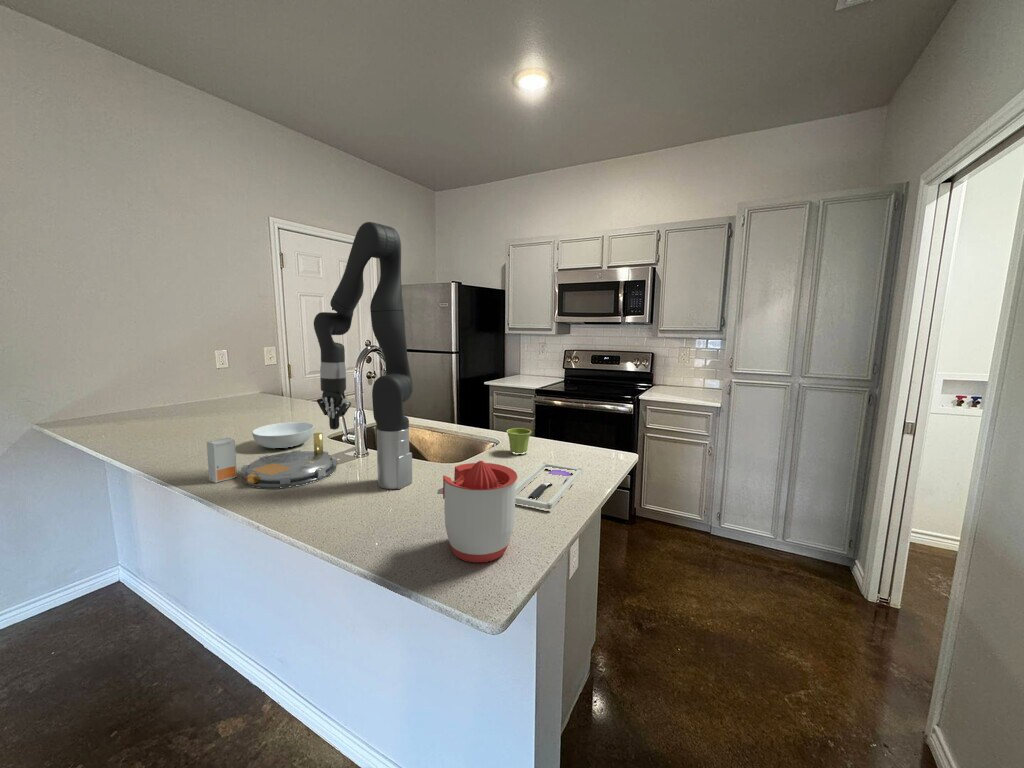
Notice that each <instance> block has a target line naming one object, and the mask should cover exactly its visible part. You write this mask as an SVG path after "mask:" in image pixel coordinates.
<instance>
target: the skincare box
mask: <svg viewBox="0 0 1024 768" xmlns="http://www.w3.org/2000/svg"><path fill="white" fill-rule="evenodd" d="M206 451H207V453H206V454H207V467H208V468H207V469H208V480H209V481H210V482H213V483H215V484H217V483H221V482H223V481H224V482H225V481H227V480H228V481H229V480H232V479H236V478H235V477H237V478H238V476H237V475H238V474H237V473H238V472H237V454H236V440H235V439H234V438H231V437H224V438H218V439H214V440H209V441H206Z"/></svg>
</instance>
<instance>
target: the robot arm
mask: <svg viewBox="0 0 1024 768" xmlns="http://www.w3.org/2000/svg"><path fill="white" fill-rule="evenodd" d="M401 241H402V240H401V238H400V234H399V232H398V231H397V230H396V229H395V228H394V227H392V226H388V225H385V224H382V223H377V222H372V221H366V222H364V223H362V224H360V226H359V227H358V230H357V231H356V234H355V236H354V239H353V242H352V245H351V248H350V252H349V255H348V258H347V262H346V266H345V269H344V271H343V274H342V277H341V279H340V282H339V284H338V285H337V287H336V289H335V291H334V293H333V295H332V296H331V297H332V298H331V299H330V303H329V304H330V307H331V308H332V310H333V311H335V312H326V311H325V312H323V311H322V312H318V313H317V314H316V315H315V317H314V319H313V329H314V332H315V335H316V339H317V342H318V344H319V348H320V349H319V350H320V366H319V367H320V368H319V369H320V370H319V372H320V373H319V374H320V375H319V376H320V379H319V380H320V382H319V383H320V391H321V392H322V394H321V397H320V398H318V399H317V400H316V403H317V404H318V406H319V408H320V410H321V412H322V414H323V415H324V416H327V417H328V420H329V421H328V422H329V424H328V425H329V429H330V430H337V429H339V428H340V417H343V416H345V415H346V413H347V412H348V410H349V409H350V407H351V405H352V402H351V401H348V400H347V399H346V395H345V391H346V390H347V369H346V368H347V367H346V357H345V356H346V354H345V346H344V344H343V343H340V342H335V340H334V338H333V336H342V335H346V334H347V333H348V332H349V330H351V328H352V327H351V326H352V321H353V317H354V311H355V309H356V307H357V305H358V303H359V302H360V300H361V299H362V296H363V293H364V289H365V288H364V285H365V282H364V272H365V271H364V270H365V267H366V266H367V264H368V262H369V261H370V260H371V259H372V258H373V259H374V258H375V259H378V260H379V268H380V269H379V270H380V273H379V274H380V276H379V282H378V284H377V286H376V289H375V291H374V293H373V296H372V299H371V301H370V305H369V306H370V307H369V309H370V321H371V327H372V331H373V335H374V338H375V340H376V341H377V344H378V345H379V347H380V350H381V352H382V355H383V360H384V363H385V364H384V365H385V374H384V375H381V376H379V377H378V378H376V379H375V381H374V383H373V385H372V389H371V399H372V413H373V414H372V415H373V419H374V421H375V423H376V454H377V455H376V458H377V459H376V460H377V461H376V462H377V469H376V470H377V486H378V487H379V488H382V489H387V490H388V489H389V490H392V489H396V490H401V489H402V488H405V487H407V486H408V485H410V484H413V453H412V452H411V451H410V420H409V417H407V416H405V415H404V412H403V411H404V410H403V409H404V408H403V403H406V402H407V401H408V400H409V399H410V398H411V396H412V395H413V389H414V384H413V379H412V373H411V368H410V364H409V358H408V348H407V338H406V323H405V310H404V303H403V289H402V242H401Z"/></svg>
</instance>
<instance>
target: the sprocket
mask: <svg viewBox="0 0 1024 768" xmlns="http://www.w3.org/2000/svg"><path fill="white" fill-rule="evenodd" d="M323 435H324V434H323V432H315V433H314V432H313V435H312V437H313V451H308V450H307V451H303V450H302V451H301V450H300V449H299V450H291V451H289V452H283V453H282V452H281V453H277V454H272V455H267V454H265V455H263V456H259V459H256V460H254V461H252V462H250V463H249V464H245V465H242V466H241V475H244V474H247V479H248V482H250V483H257V482H262V483H280V485H281V484H290V483H291V482H294V481H300V480H305V479H309V478H312V477H321V476H323V475H326V473H325V472H327V471H328V470H330V469H331V468H332V467H333V466H336V467H337V466H338V457H333V456H331V454H329V452H328V451H324V437H323Z"/></svg>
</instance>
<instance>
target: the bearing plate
mask: <svg viewBox="0 0 1024 768" xmlns="http://www.w3.org/2000/svg"><path fill="white" fill-rule="evenodd" d="M335 470H336V471H337V466H333V467H332V468H331V469H330V470H328V471H327V472H325V473H326V475H323V476H321V477H312V478H309V479H305V480H300V481H294V482H291V483H290V484H281V485H280V483H262V482H257V483H250V482H248V479H247V474H242V481H243V483H244V482H245V483H246V484H245V483H244V484H245V485H247V486H249V485H250V486H249V487H251V486H254V487H253V488H256V487H260V488H259V489H264V488H279V489H281V488H280V487H289V486H296V485H302V484H306V483H310V482H313V481H317V480H320V479H323V478H325V477H327V476H329V475H330V474H332V473H333V472H334V471H335ZM336 471H335V472H336ZM335 472H334V473H335ZM334 473H333V474H334ZM333 474H332V475H333ZM330 476H331V475H330ZM330 476H329V477H330ZM327 478H328V477H327ZM325 479H326V478H325ZM323 480H324V479H323ZM320 481H321V480H320ZM317 482H318V481H317ZM302 486H303V485H302Z"/></svg>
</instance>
